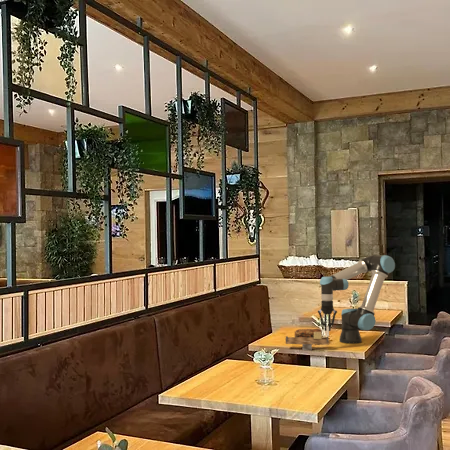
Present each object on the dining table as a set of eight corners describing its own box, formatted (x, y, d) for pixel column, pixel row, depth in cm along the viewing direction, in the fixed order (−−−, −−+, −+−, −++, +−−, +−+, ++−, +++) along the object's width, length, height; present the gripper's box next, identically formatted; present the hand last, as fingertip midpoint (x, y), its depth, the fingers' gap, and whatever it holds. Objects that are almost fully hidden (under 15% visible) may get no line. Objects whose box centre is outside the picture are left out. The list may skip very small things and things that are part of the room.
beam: (328, 348, 367) (328, 336, 367) (328, 350, 360) (328, 339, 360) (286, 347, 372) (286, 336, 372) (285, 350, 364) (285, 338, 364)
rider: (321, 339, 367) (321, 331, 367) (321, 341, 361) (321, 333, 361) (313, 339, 368) (313, 331, 368) (313, 341, 362) (313, 333, 362)
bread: (322, 342, 388) (322, 327, 388) (321, 345, 378) (321, 330, 378) (295, 341, 392) (295, 327, 392) (294, 344, 382) (294, 330, 382)
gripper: (336, 299, 366) (337, 335, 366) (317, 299, 368) (317, 334, 368) (337, 301, 359) (338, 337, 359) (317, 300, 361) (317, 336, 361)
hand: (327, 335), depth 364 cm, fingers closed
